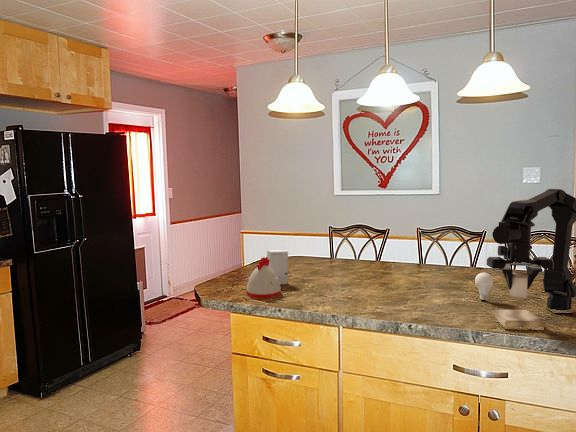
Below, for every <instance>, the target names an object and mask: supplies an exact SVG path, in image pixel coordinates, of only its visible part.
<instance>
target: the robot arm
mask: <svg viewBox="0 0 576 432" xmlns="http://www.w3.org/2000/svg"><path fill="white" fill-rule="evenodd" d="M547 208H549V209H551V217H552V219H553V220H554V223H555V230H554V238H553V239H554V240H553V247H552V255H551V257H552V259H550V258H548V257H545V256H534V257H533V259H532V258H531V250H532V249H533V245H532V244H531V240H532V239H531V237H532V227H535V226H536V225H535V223H534V222H533V220H534V219H535V218H537V216H538V214H539V212H540V211H542V210H544V209H547ZM575 223H576V197H575V196H572V195H570V194H568V193H566V191H565V190H563V189H561V188H560V189H559V188H549V189H548V188H547V189H546V190H545V191H544V192H543V191H542V193H539V194H537V195H535V196H533V197H531V198H528V199H524V200H523V199H521V200H514V201H511V202H510V204H509V205H508V207H507V208H506V211H505V212H504V215H503V217H502V219H501V221H499V222H498V225H497V226H495V228H494V229H493V231H492V239H493V240H494V242H495V243H497V244H499V245H498V246H497V255H498V256H488V258H487V259H486V266H488V267H489V268H491V269H494V270H496V269H497V270H498V269H499V270H500V271H501V272H502V274H503V276H504V278H505V282H506V284H507V287H508V289H509V290H510V289H511V287H512V273H513V272H514V270H513V269H511V267H512V266H516V267H517V266H521V267H522V266H524V267H525V269H526V273H527V274H528V284H527V290H530V287H532V286H531V285H532V284H533V283H534V280H535V279H536V277H537V276H538V275H539V274H540V272H543V271H544V272H543V279H542V283H543V288H544V292H545V293H546V294H548V296H547V298H546V299H547V300H546V307H548V308H550V309H556V310H569V309H571V310H572V303H573V302H572V299H573V298H576V285H575V284H574V282H573V274H572V272H571V270H570V269H569V259H570V252H571V251H570V250H571V240H572V234H573V233H572V231H573V225H574V224H575ZM506 244H508V247H506V246H505V245H506Z"/></svg>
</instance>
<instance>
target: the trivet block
mask: <svg viewBox="0 0 576 432" xmlns="http://www.w3.org/2000/svg"><path fill="white" fill-rule="evenodd" d="M490 315H492V316H493V317H495V318H496V319H497V320H498V321H499V322H500V323H501V324H502V325H503V326H505V327H528V326H529V327H533V326H534V327H545V328H546V322H544V320H543V319H541V318H540V317H539V316H538V315H536V314H535V313H533V312H531V311H530V310H529V309H492V310H491V313H490Z"/></svg>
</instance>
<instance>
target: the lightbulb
mask: <svg viewBox="0 0 576 432" xmlns="http://www.w3.org/2000/svg"><path fill="white" fill-rule="evenodd" d="M474 283H475V285H476V287H477V288H478V292H479V300H480V299H482V300H486V299H487V300H488V293H489V292H490V289H491V288H492V286H493V284H494V279H493V277H492V275H491V274H489V273H488V272H479V273H478V274H476V275H475V278H474ZM487 300H486V301H487Z"/></svg>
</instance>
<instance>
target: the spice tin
mask: <svg viewBox="0 0 576 432" xmlns="http://www.w3.org/2000/svg"><path fill="white" fill-rule="evenodd" d="M527 284H528V274H527V272H523V271H513V273H512V287H511V289H509V296H511V297H514V298H527V297H528V289H527Z"/></svg>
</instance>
